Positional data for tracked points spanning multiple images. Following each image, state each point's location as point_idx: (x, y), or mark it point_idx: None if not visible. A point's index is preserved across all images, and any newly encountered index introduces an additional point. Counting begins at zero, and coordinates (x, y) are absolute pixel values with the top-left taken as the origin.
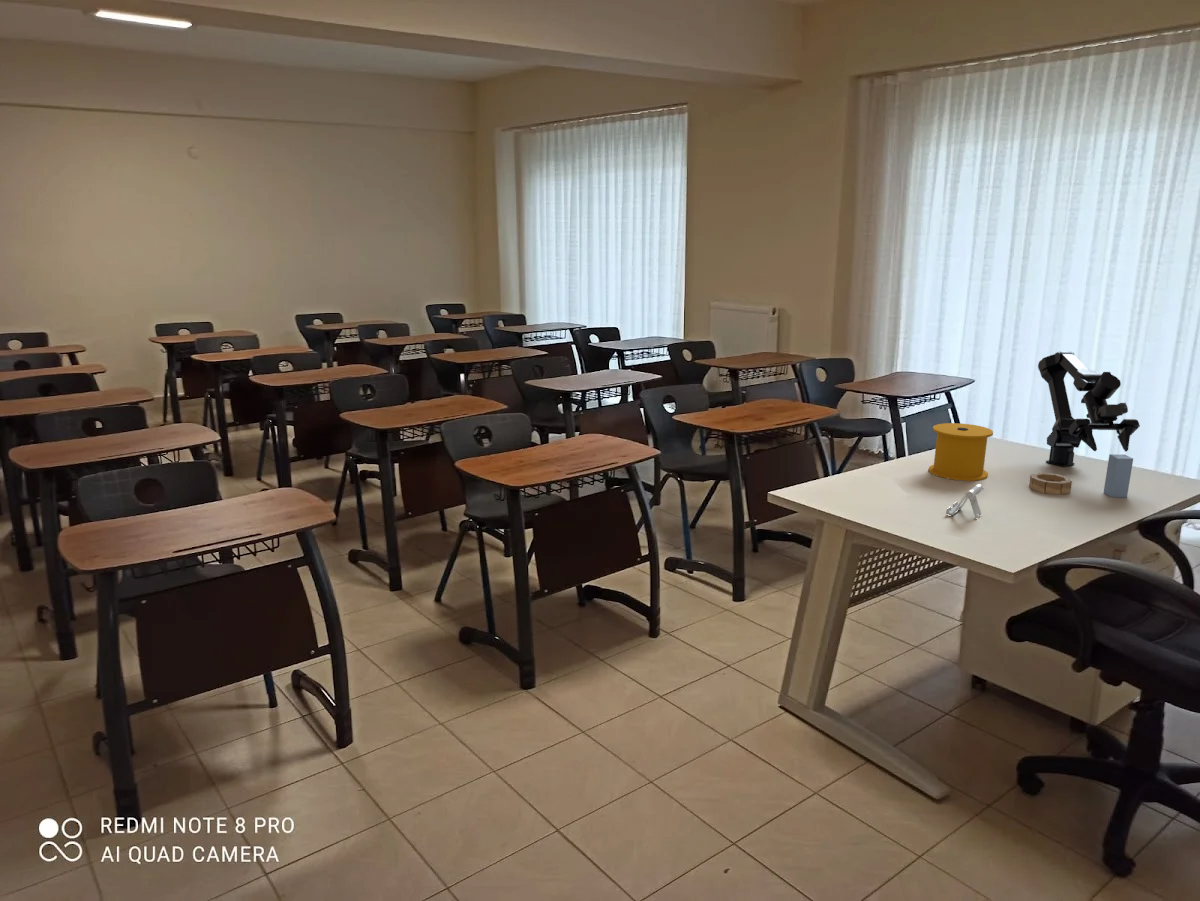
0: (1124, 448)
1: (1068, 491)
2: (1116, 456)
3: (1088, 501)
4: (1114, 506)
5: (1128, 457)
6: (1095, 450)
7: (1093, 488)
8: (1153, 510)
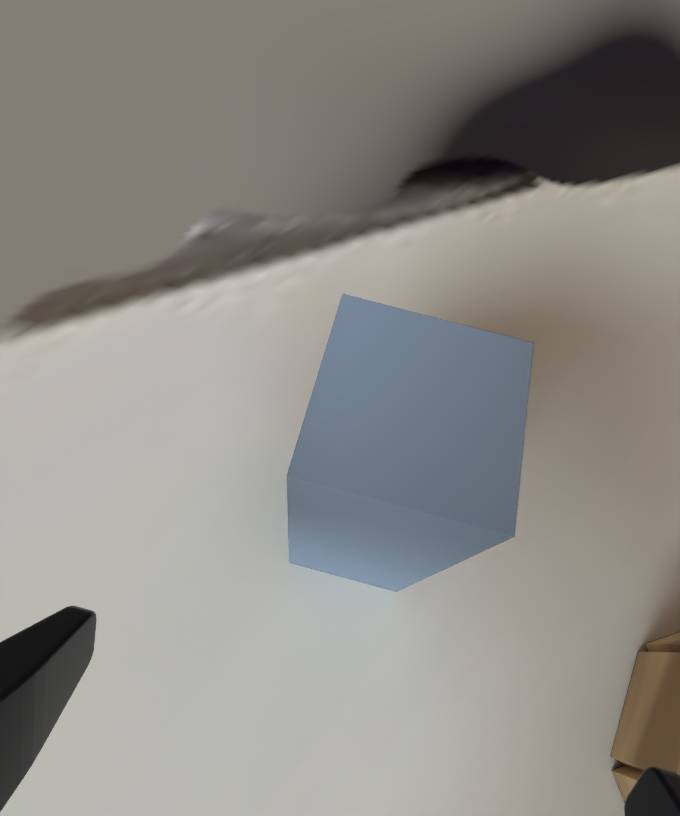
0: (54, 705)
1: (670, 637)
2: (485, 419)
3: (614, 449)
4: None
5: (365, 341)
6: (653, 784)
7: (396, 713)
8: (358, 256)
